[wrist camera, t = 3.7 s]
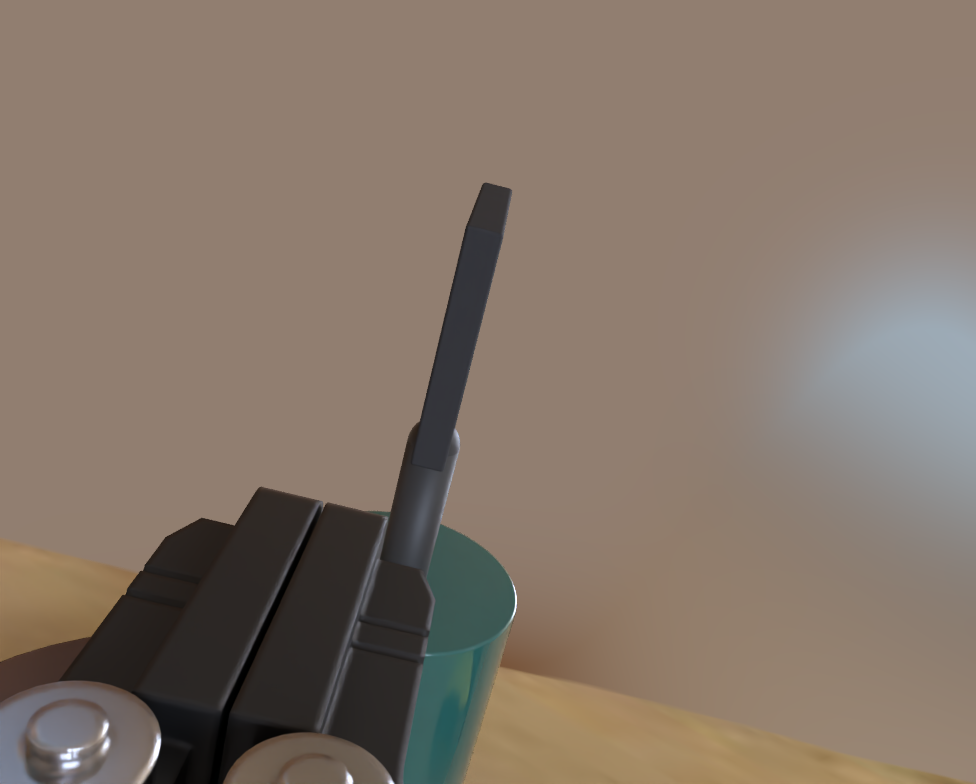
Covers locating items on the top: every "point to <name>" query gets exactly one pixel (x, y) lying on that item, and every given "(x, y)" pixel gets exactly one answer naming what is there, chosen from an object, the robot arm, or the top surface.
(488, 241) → the teal post stand
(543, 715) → the top surface
